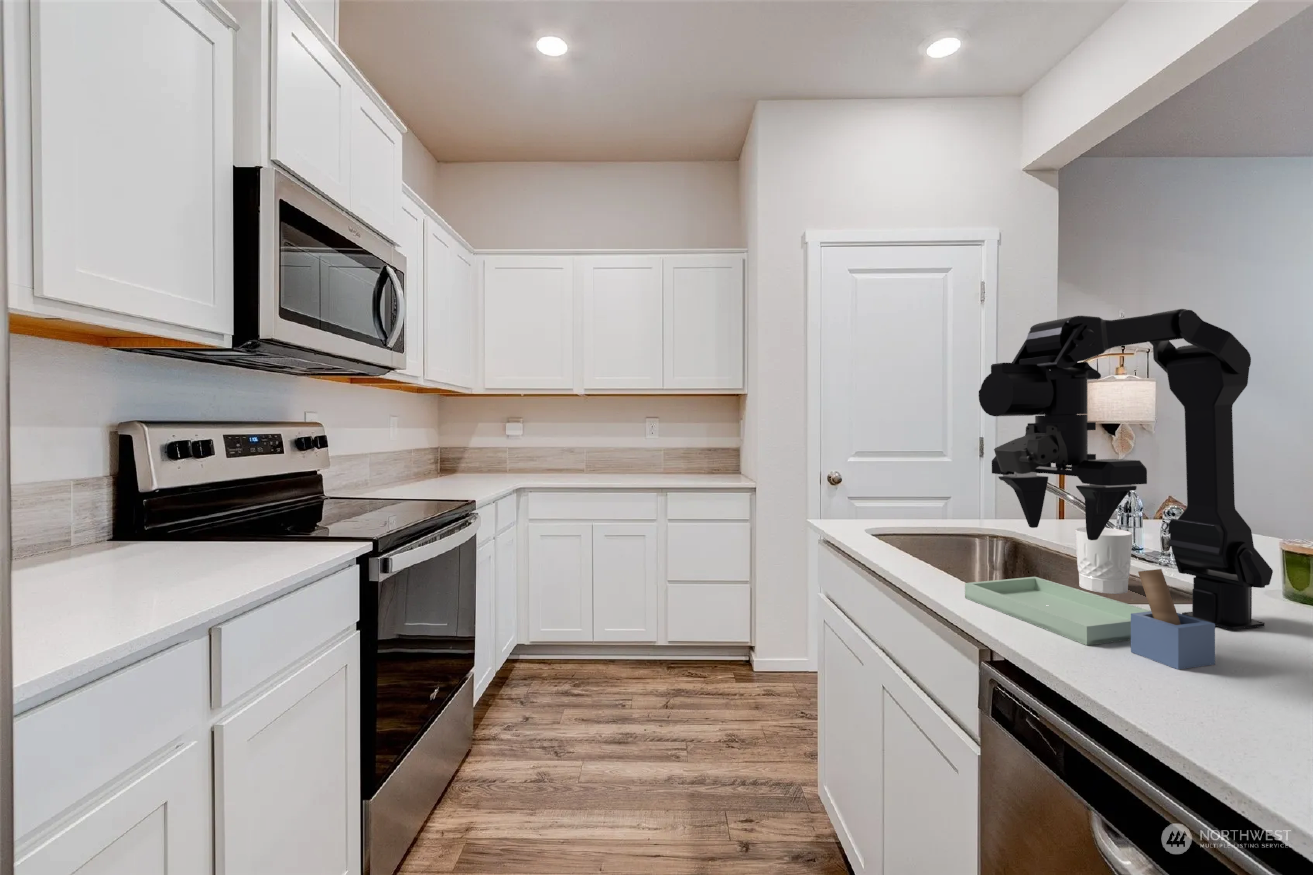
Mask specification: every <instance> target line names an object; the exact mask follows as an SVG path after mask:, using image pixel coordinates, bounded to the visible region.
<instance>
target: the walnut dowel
mask: <svg viewBox="0 0 1313 875" xmlns="http://www.w3.org/2000/svg"><path fill="white" fill-rule="evenodd" d="M1137 573H1138V576H1139V579H1140V582H1141V585H1142V588H1143V590H1144V593H1145V596H1146V600H1147V602H1148V606H1149V610H1150V611H1151V612H1152V615H1153V618H1154V619H1157V620H1161V621H1164V622H1167V623H1171V624H1174V625H1181V623H1180V620H1179V617H1178V615H1177V613H1178V612H1177V610H1176V606H1175V604H1174V601H1173V598H1172V595H1171V592H1170V588H1169V587H1168V584H1167V580H1166V578H1165V576H1164V572H1163V570H1162V568H1157V569H1148V570H1141V571H1138V572H1137Z"/></svg>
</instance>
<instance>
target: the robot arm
mask: <svg viewBox="0 0 1313 875" xmlns="http://www.w3.org/2000/svg"><path fill="white" fill-rule="evenodd" d="M1029 329H1030V330H1029V332H1028V333H1027V337H1026V339H1025V341H1024V342H1023V344H1022V345H1021V347H1020V349H1019V350H1018V352H1017V353H1016V355H1015V357H1014V359H1013V361H1012V362H1000V363H999V362H998V363H991V365H990V373H989V374H988V375H987V376H986V377H985V378H984V380H983V381H982V383H981V386H980V389H979V390H978V401H979V404H980V407H981V408H982V410H983V411H984V413H985V414H987V415H988V416H991V417H1019V416H1020V417H1021V416H1022V417H1023V416H1026V417H1028V416H1034V422H1029V423H1027V425H1026V427H1025V434H1024V435H1023V436H1021V437H1017V438H1014V439H1012V440H1010V441H1008V442H1006V443H1004V444H1003V443H1002V444H1001V445H998V446H997V447H995V448H994V449H993V451H994V453H995V456H994V457H993V459H992V460H991V474H992V475H995V474H996V475H1002V476H997V477H998V479H999V480H1000V481H1003V482H1005V483H1006V484H1007V485H1008V486H1009V487H1011V489H1013V491H1014V493H1015V495H1016V497H1017V499H1018V502H1019V505H1020V507H1021V509H1022V511H1023V514H1024V517H1025V521H1026V522H1027V526H1028V527H1029V528H1032V529H1034V528H1036V529H1037V528H1038V527H1039V524H1040V521H1041V518H1042V512H1043V509H1044V507H1043V506H1044V503H1045V497H1046V492H1047V487H1048V483H1049V482H1048V481H1049V476H1045V475H1038V474H1048V475H1049V474H1050V475H1059V476H1069V477H1070V476H1071V477H1077V478H1078V479H1079V480H1080V482H1081V483H1082V484H1083V485H1082V484H1081V485H1075V488H1076V489H1077V491H1079V493H1080V494H1081V496H1083V498H1084V510H1085V511H1084V512H1085V527H1086V531H1087V537H1088V539H1089V540H1097V539H1098V538H1099V536H1100V535H1101V533H1102V531H1103V529H1104V528H1106V526H1107V524H1108V523H1109V521H1110V519H1111V518H1112V517H1113V514H1114V513H1115V511H1116V510H1117V509H1118V507H1119V506H1120V504H1121V503H1122V502H1123V500H1124V499H1125V498H1126V497H1127V495H1128V494H1129V492H1130V491H1137V487H1138V486H1137V485H1147V484H1148V470H1147V467H1146V466H1145V465H1144V464H1143V462H1141V460H1137V459H1120V458H1119V459H1118V458H1108V459H1107V458H1105V459H1104V458H1103V459H1099V458H1098V459H1097V454H1096V453H1088V452H1089V450H1088V446H1089V445H1088V444H1089V443H1088V434H1089V433H1088V431H1096V428H1097V424H1096V423H1097V422H1095V421H1092V422H1090V421H1088V381H1089V380H1091V381H1092V380H1099V379H1101V377H1102V375H1101V373H1100V372H1099V371H1098V370H1097V369H1095V368H1093V367H1092V366H1091V365H1090V364H1089V362H1088V361H1087V360H1089V359H1091V358H1094V357H1097V356H1100V355H1102V354H1104V353H1106V351H1107V350H1110V349H1113V348H1116V347H1118V348H1119V347H1123V346H1124V347H1125V346H1129V345H1136V344H1142V343H1149V344H1150V345H1152V353H1153V354H1152V356H1153V361H1154V362H1155V363H1156V364H1157V365H1158V366H1159V368H1161V369H1162V370H1163V371H1164V372H1165V374H1167V380H1168V385H1169V386H1168V387H1169V391H1171V393H1172V394H1173V395H1174V396H1175V398H1176V399H1177V400H1178V402H1180V404H1181V406H1183V410H1184V435H1185V436H1184V437H1185V438H1184V439H1185V440H1184V441H1185V467H1186V469H1185V471H1186V474H1185V475H1186V476H1185V477H1186V479H1185V480H1186V508H1185V509H1184V510H1183V512H1182V513H1181V514H1180V515H1179V517H1178V518H1171V519H1170V521H1169V522H1168V529H1169V541H1168V547H1171V551H1172V555H1173V558H1174V561H1175V564H1176V568H1177V571H1178V573H1179V574H1183V575H1184V574H1185V575H1190V576H1193V578H1192V579H1193V586H1192V590H1191V591H1192V592H1191V593H1192V595H1191V596H1192V598H1191V600H1192V603H1191V604H1192V607H1191V608H1192V611H1186V612H1181V614H1183V615H1187V616H1190V617H1194V618H1197V619H1201V620H1204V621H1208V622H1211V623H1215V627H1217V628H1221V629H1225V630H1230V631H1235V630H1245V629H1254V628H1260V627H1265V624H1266V623H1265V622H1264V621H1261V620H1257V619H1253V618H1252V617H1253V616H1252V614H1253V613H1252V608H1253V607H1252V606H1253V603H1252V602H1253V600H1252V599H1253V597H1252V596H1253V595H1252V594H1253V593H1252V590H1253V589H1252V588H1261V589H1262V588H1263V589H1264V588H1265V587H1266V586H1269V585H1270V584H1271V580H1272V577H1273V572H1274V571H1273V568H1272V567H1271V566H1270V565H1269V564H1268V562H1266V560H1265V559H1264V557H1263V556H1262V555H1261V554H1260V553H1259V551H1257V549H1256V548H1255V546H1254V545H1255V544H1254V539H1253V533H1252V529H1251V527H1250V526H1249V524H1248V523H1247V522H1246V521H1245V519H1244V517H1242V516H1241V514H1240V513H1239V512H1238V511H1237V509H1236V507H1235V506H1236V505H1235V470H1234V469H1235V468H1234V466H1235V465H1234V464H1235V463H1234V432H1233V431H1234V429H1233V428H1234V427H1233V426H1234V425H1233V424H1234V422H1233V405H1234V403H1235V402H1236V401H1237V399H1239V397H1240V396H1241V394H1242V393H1243V391H1244V390H1245V389H1246V387H1247V386H1248V384H1249V374H1250V367H1251V364H1252V357H1251V353H1250V352H1249V351H1248V349H1247V347H1245V346H1244V345H1243V344H1242V343H1241V342H1240V341H1239V340H1238V338H1236V337H1235V335H1234V334H1233V333H1232V332H1230V331H1228V330H1226V329H1223V328H1221V327H1219V326H1216V325H1214V324H1211V323H1209V322H1207V321H1204V320H1203V319H1202V318H1201V317H1200V315H1198V314H1197V313H1196V312H1195V311H1193V310H1192V309H1185V308H1179V309H1174V310H1168V311H1163V312H1156V313H1152V314H1147V315H1141V316H1133V317H1125V318H1118V319H1103V318H1102V317H1100V316H1090V315H1074V316H1069V317H1065V318H1059V319H1054V320H1050V321H1049V320H1048V321H1044V322H1039V323H1036V324H1034V325H1032V326H1030V328H1029ZM1182 339H1183V340H1184V341H1185V342H1186V343H1188V345H1182V346H1178V347H1177V348H1176V346H1175V345H1174V344H1173V343H1172V342H1171V341H1175V340H1182ZM1052 464H1055V466H1052ZM1084 484H1085V485H1084Z"/></svg>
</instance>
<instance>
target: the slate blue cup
mask: <svg viewBox="0 0 1313 875" xmlns="http://www.w3.org/2000/svg"><path fill="white" fill-rule="evenodd" d="M1177 615H1178V617H1179V620H1180V623H1181V625H1174V624H1171V623H1167V622H1164V621H1161V620H1157V619H1154V618H1153V615H1152V612H1151V610H1150V611H1149V612H1140V613H1131V640H1130V652H1131V653H1132V654H1135V655H1137V656H1140V657H1144V658H1146V659H1149V660H1152V661H1155V662H1157V663H1160V664H1162V665H1165V666H1168V667H1170V668H1173V669H1176V670H1183V669H1184V670H1185V669H1190V668H1192V667H1193V668H1198V667H1205V666H1212V665H1213V666H1214V665H1216V626H1215V623H1211V622H1208V621H1204V620H1201V619H1197V618H1194V617H1190V616H1187V615H1183V614H1182V613H1179V612H1177Z"/></svg>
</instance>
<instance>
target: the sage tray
mask: <svg viewBox="0 0 1313 875" xmlns="http://www.w3.org/2000/svg"><path fill="white" fill-rule="evenodd" d="M964 598H965V599H967V600H970V601H972V602H974V603H976V604H979V605H982V606H985V607H987V608H990V609H992V610H995V611H997V612H1000V613H1002V614H1005V615H1008V616H1010V617H1013V618H1015V619H1018V620H1021V621H1023V622H1025V623H1028V624H1031V625H1033V626H1036V627H1039V628H1041V629H1043V630H1047V631H1048V632H1051V633H1053V634H1056V635H1059V636H1062V637H1064V638H1067V639H1069V640H1072V641H1075V642H1076V643H1080V644H1082V645H1085V646H1094V645H1102V644H1109V643H1117V642H1124V641H1125V642H1126V641H1127V642H1128V641H1131V613H1140V612H1149V611H1151V609H1147V608H1142V607H1139V606H1136V605H1132V604H1129V603H1127V602H1123V601H1121V600H1120V601H1119V600H1116V599H1112V598H1109V597H1105V596H1103V595H1099V594H1096V593H1092V592H1088V591H1086V590H1081V589H1079V588H1075V587H1072V586H1069V585H1064V584H1061V583H1057V582H1054V581H1051V580H1048V579H1044V578H1042V577H1038V576H1029V577H1018V578H1007V579H997V580H995V579H994V580H985V581H984V580H983V581H974V582H973V581H972V582H965V583H964ZM1046 605H1049V606H1046Z"/></svg>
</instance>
